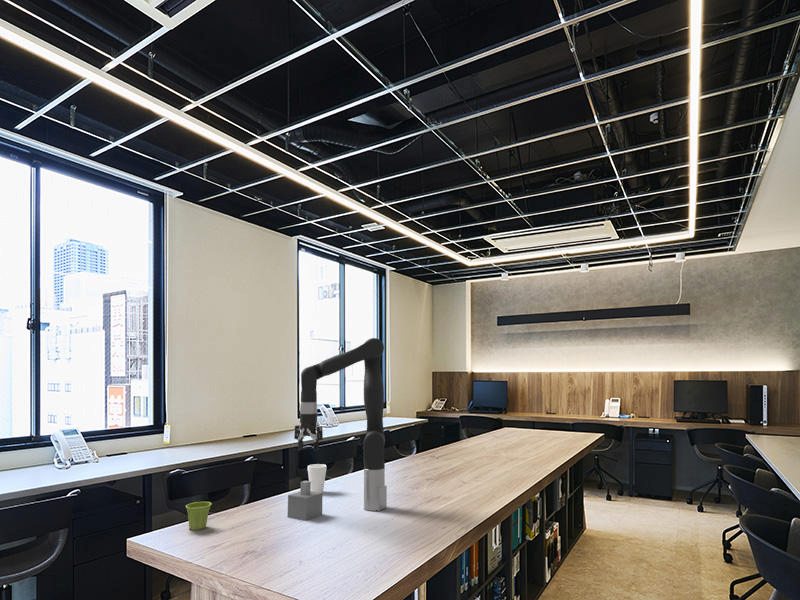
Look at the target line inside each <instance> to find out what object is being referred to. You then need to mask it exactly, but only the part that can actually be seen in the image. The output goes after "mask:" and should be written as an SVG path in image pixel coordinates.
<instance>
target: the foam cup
mask: <svg viewBox="0 0 800 600" xmlns="http://www.w3.org/2000/svg"><path fill="white" fill-rule="evenodd" d="M307 474H308V481H311V491H314V492H320V493H323V494H324V488H325V483H326V482H325V480H326V474H327V465H326V464H324V463H322V464H320V463H316V464H315V463H314V464H309V465H307Z"/></svg>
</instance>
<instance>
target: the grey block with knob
mask: <svg viewBox="0 0 800 600" xmlns="http://www.w3.org/2000/svg"><path fill="white" fill-rule="evenodd" d="M323 495H324V492H323V493H320V492H314V491H311V481H309V480H303V481H300V490H299V491H297V492H293V493H290V494H288V495H287V518H290V517H292V519H296V518H297V520H301V519H302V521H308V519H309V520H311V519H314V518H317V517H319V516H323V498H324V497H323ZM316 516H317V517H316ZM313 517H314V518H313Z"/></svg>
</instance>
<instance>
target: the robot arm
mask: <svg viewBox="0 0 800 600" xmlns="http://www.w3.org/2000/svg"><path fill="white" fill-rule="evenodd" d="M384 350H385V345H384V343H383V341H382V340H381V339H379V338H377V337H372V338H371V337H370V338H369V339H367V340H366V341H365V342H363V343H362V344H361V345H359V346H356V347H355V348H353V349H351V350H347V351H346V352H343V353H339V354H336V355H334V356H332V357H329V358H327V359H325V360H322V361H321V362H318V363H316V364H313V365H310V366H308V367H305V368H303V369H302V371H301V372H300V373H301V374H300V382H301V383H300V384H301V391H300V408H299V423H300V424H297V425H294V436H293V439H294V440H297V447H298V450H300V451H301V450H303V449H304V439H305V437H310V438H311V439H312V441H313V451H314V452H316V451H319V449H320V448H319V447H320V441H323V440H324V439H323V438H324V435H323V431H324V430H323V426H322V425H320V426H317V423H318V403H317V402H318V401H317V400H318V398H317V397H318V396H317V395H318V393H317V384H318V383H317V382H318V380H320V379H321V378H324V377H327V376H331V375H333V374H336V373H337V372H339V371H342V370H344V369H345V368H348V367H350V366H353V365H355V364H357V363H359V362H362V361H363V362H364V376H363V377H364V378H363V404H364V411H365V415H366V434H365V437H364V439H363V445H362V446H363V447H362V449H363V454H362V455H363V458H362V459H363V509H364V510H365V511H369V510H370V511H371V512H380V511H383V510H385V509H387V505H388V502H387V499H388V498H387V497H388V496H387V495H388V491H387V485H386V481H385V474H386V473H385V470H386V467H385V463H386V461H385V443H386V437H385V429H384V421H383V420H384V419H383V418H384V417H383V416H384V406H385V405H384V404H385V394H384V393H385V392H384V390H385V389H384V381H383V377H382V371H381V359H382V358H381V356H382V355H383V353H384ZM384 508H385V509H384ZM382 509H383V510H382ZM376 510H377V511H376ZM370 511H369V512H370Z"/></svg>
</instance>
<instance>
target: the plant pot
mask: <svg viewBox="0 0 800 600" xmlns="http://www.w3.org/2000/svg"><path fill="white" fill-rule="evenodd" d="M211 506H212V502H211V501H195V502H191V503H188V504H185V508H186V511H187V519H188V528H189V530H192V531H198V530H201V529H205V528H206V527H207V523H208V517H209V512H210V509H211Z"/></svg>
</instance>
